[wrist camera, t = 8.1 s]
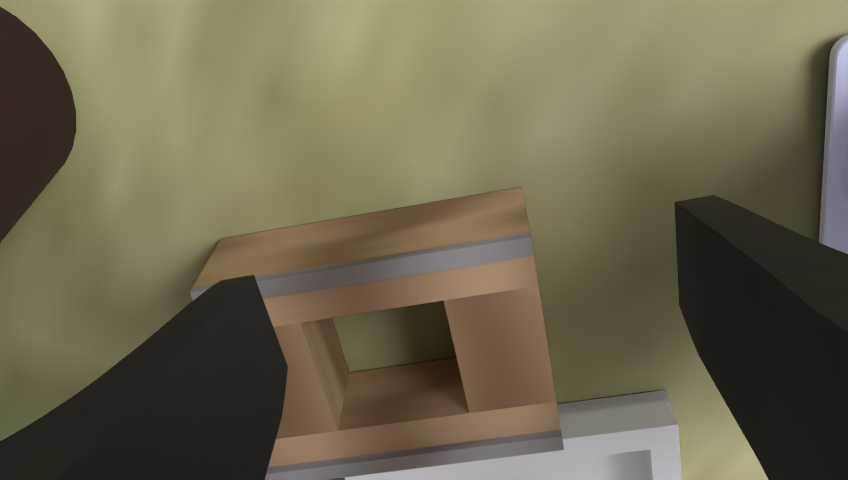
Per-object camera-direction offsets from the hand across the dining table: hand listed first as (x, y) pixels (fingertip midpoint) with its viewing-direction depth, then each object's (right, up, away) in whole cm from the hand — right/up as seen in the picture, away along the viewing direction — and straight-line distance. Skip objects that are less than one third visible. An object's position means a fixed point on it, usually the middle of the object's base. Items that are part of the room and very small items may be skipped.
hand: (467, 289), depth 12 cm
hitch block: (-2, -2, +13) cm, 13 cm away
